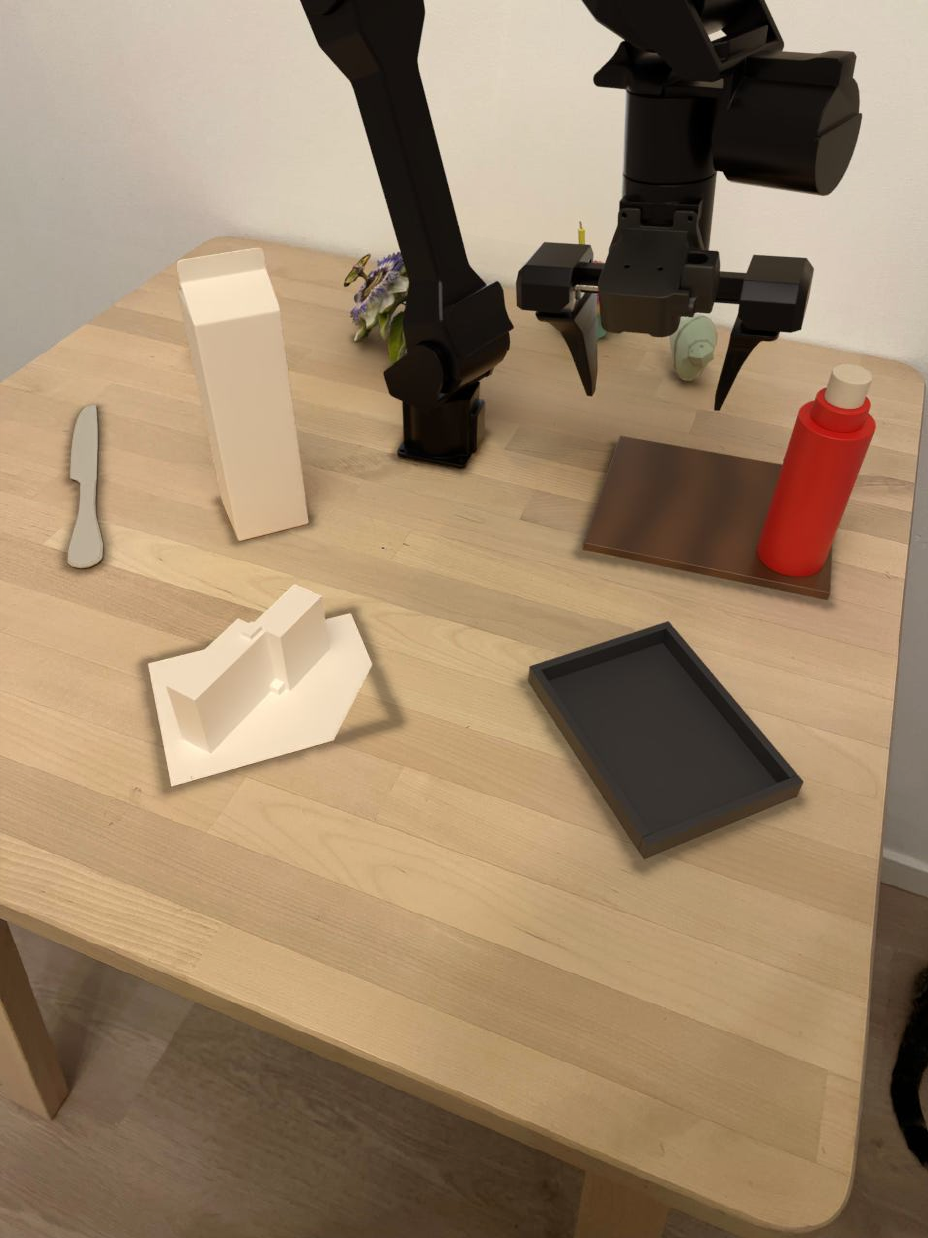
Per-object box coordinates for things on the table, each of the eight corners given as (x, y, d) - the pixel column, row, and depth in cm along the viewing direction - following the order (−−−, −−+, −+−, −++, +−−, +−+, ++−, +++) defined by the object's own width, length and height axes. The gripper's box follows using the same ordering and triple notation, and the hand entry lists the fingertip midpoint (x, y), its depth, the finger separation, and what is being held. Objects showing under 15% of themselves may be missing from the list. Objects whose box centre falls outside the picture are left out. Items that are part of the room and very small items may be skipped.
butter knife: (62, 567, 72) (101, 562, 73) (73, 404, 89) (105, 401, 89) (64, 572, 72) (103, 566, 73) (74, 408, 89) (106, 404, 89)
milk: (309, 524, 77) (277, 265, 62) (237, 542, 75) (185, 280, 60) (289, 483, 81) (253, 229, 66) (219, 499, 79) (166, 242, 64)
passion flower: (368, 384, 103) (340, 273, 101) (464, 361, 103) (438, 249, 101) (360, 376, 92) (329, 251, 90) (467, 350, 92) (438, 225, 90)
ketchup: (779, 583, 71) (842, 399, 60) (743, 541, 75) (797, 360, 63) (837, 569, 72) (910, 386, 61) (799, 529, 76) (861, 348, 65)
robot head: (652, 362, 97) (662, 300, 92) (688, 357, 98) (700, 295, 93) (685, 402, 91) (698, 338, 87) (723, 396, 92) (738, 333, 87)
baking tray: (527, 685, 65) (529, 665, 64) (664, 640, 68) (668, 620, 67) (642, 863, 55) (647, 845, 54) (795, 800, 58) (804, 781, 57)
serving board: (581, 554, 75) (583, 542, 74) (618, 446, 86) (619, 435, 85) (825, 604, 71) (830, 593, 70) (831, 484, 82) (835, 473, 81)
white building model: (172, 789, 58) (151, 732, 54) (145, 664, 66) (126, 605, 62) (399, 721, 62) (395, 663, 58) (349, 611, 70) (344, 553, 66)
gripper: (482, 206, 55) (495, 440, 65) (816, 223, 49) (772, 477, 59) (539, 152, 62) (542, 369, 73) (833, 161, 57) (792, 395, 67)
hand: (653, 401), depth 68 cm, fingers open, 9 cm apart
